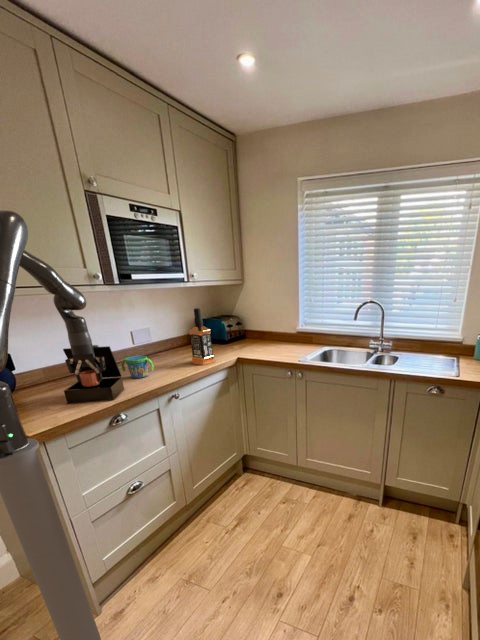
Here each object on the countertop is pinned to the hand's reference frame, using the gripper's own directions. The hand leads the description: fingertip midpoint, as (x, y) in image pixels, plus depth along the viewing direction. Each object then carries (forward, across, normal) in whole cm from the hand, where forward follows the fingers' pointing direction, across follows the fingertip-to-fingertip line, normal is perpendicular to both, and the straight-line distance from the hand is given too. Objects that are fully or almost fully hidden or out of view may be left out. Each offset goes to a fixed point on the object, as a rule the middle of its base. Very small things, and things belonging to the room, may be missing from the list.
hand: (90, 381), depth 141 cm
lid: (-6, 0, +7) cm, 9 cm away
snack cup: (+8, +11, +31) cm, 34 cm away
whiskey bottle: (+8, +42, +54) cm, 69 cm away
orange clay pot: (+1, 0, 0) cm, 1 cm away
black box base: (+8, 0, +3) cm, 8 cm away
